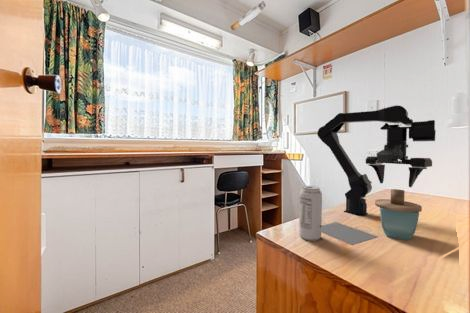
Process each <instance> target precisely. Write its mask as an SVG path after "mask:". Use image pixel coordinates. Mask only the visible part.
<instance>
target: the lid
mask: <svg viewBox="0 0 470 313" xmlns="http://www.w3.org/2000/svg"><path fill="white" fill-rule="evenodd" d="M374 205H375V206H376V207H378V208H379V209H380V208H383V209H388V210H393V211H399V212H419V213H420V212H422V210H423V209H422V208H423V206H422V205H420V204H418V203H416V202H415V203H414V202H412V201H405V190H403V189H398V188H397V189H396V188H394V189H393V188H392V189H390V199H389V198H386V199H384V198H383V199H382V198H380V199H375V201H374Z"/></svg>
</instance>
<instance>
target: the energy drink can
mask: <svg viewBox="0 0 470 313" xmlns="http://www.w3.org/2000/svg"><path fill="white" fill-rule="evenodd" d="M320 188H321V187H319V186H316V185H303V186H301V190H300V191H299V224H298V225H299V236H300V237H301V239H302V240H306V241H309V242H310V241H311V242H315V241H319V240H320V239H321V238H322V232H321V226H322V219H323V218H322V213H323V212H322V211H323V210H322V207H323V194H322V191H321V189H320Z"/></svg>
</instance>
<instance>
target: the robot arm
mask: <svg viewBox="0 0 470 313" xmlns="http://www.w3.org/2000/svg"><path fill="white" fill-rule="evenodd" d="M365 122H366V123H369V122H381V123H384V124H383V125H382V126H381V127H380V130H382V131H386V144H384V146H383V149H382V150H380V151H378V152H377V153H376V155H375V156H373V155H371V156H367V157H366V158H365V164H367V165H369V167H371V168H373V170H374V171H375V173H376V176H377V178H378V181H379V184H383V183H384V179H385V168H386V164H394V165H395V164H396V165H410V166H411V167H408V168H407V169H408V172H409V175H408V188H412V187H413V186H414V184H415V182H416V180H417V179H418V177H419V176H420V174H421V173H422V172H423V170H427V169H428V167H433V160H432V159H431V158H430V157H411V158H410V159H409V156H408V155H407V148H409V144H407V138H408V139H410V140H411V139H412V141H413V142H436V120H434V119H433V120H432V119H431V120H425V121H414V120H413V119H412V118H409V112H408V111H407V108H405V107H404V106H402V105H397V104H396V105H391V106H388V107H384V108H383V107H382V108H381V109H378V110H371V111H358V112H345V113H343V112H339V113H337V114H336V115H335V116H334V117H333V118H332V119H330V120H329V121H328V122H327V123H325V124H324V125H323V126H321V127H319V128H318V130H317V134H316V135H317V137H318V139H320V140H321V142H322V143H323V144H324V145H326V146H327V147H328V148H329V149H330V151H331V152H332V154H333V156H334V157H335V159H336V161H337V162H338V164H339V165H340V167H341V168H342V169H343V173H345V175H346V177H347V181H348V185H349V188H350V189H349V190H348V191H346V192H345V193H344V195H345V201H346V204H345V210H343V213H347V214H350V215H353V216H357V217H362V216H365V215H368V214H369V212H368V211H367V209H368V204H367V203H366V202H367V199H366V195H368V194H369V193H370V192H372V190H373V187H372V184H373V182H372V180H371V181H370V179H369V178H368V175H367V174H366V173H363V174H361V173H360V172H359V171H358V169H357V168H356V166H355V164H354V163H353V162H352V160H351V158H350V157H349V155H348V154H347V152H346V151H345V149H344V147H343V146H342V145H341V143H340V138H339V136H338V132H339V131H340V130H341V129H342V128H343V126H344V125H345V124H348V123H351V124H352V123H365ZM400 124H403V125H405V126H400ZM407 134H408V135H407ZM407 136H408V137H407Z"/></svg>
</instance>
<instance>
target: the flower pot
mask: <svg viewBox="0 0 470 313" xmlns="http://www.w3.org/2000/svg"><path fill="white" fill-rule="evenodd" d="M379 213H380V214H379V215H380V224H381V227H382V230H383V232H384V234H385V236H386V237H387V238H394V239H397V240H398V239H399V240H404V241H410V240H411V239H412V238H413V236H414V235H415V233H416V231H417V227H418V223H419V216H420V212H399V211H393V210H388V209H383V208H380V207H379Z"/></svg>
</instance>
